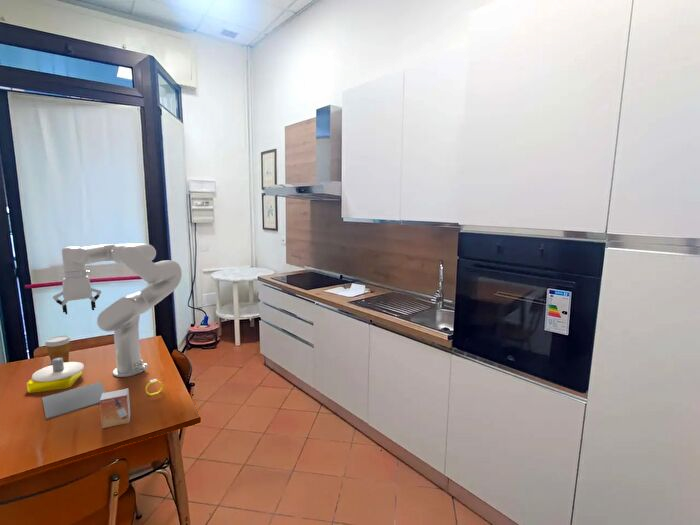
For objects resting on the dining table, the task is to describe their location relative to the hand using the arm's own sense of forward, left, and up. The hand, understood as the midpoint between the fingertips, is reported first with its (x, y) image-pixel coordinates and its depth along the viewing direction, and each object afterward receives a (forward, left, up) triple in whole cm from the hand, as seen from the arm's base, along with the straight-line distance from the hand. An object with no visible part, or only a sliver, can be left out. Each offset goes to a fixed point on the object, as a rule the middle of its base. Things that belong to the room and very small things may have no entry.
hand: (79, 311), depth 159 cm
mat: (-19, +24, -27) cm, 41 cm away
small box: (-46, +34, -28) cm, 64 cm away
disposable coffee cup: (+18, -3, -28) cm, 33 cm away
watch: (-46, +15, -28) cm, 56 cm away
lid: (0, +13, -23) cm, 26 cm away
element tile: (+1, +13, -28) cm, 31 cm away
